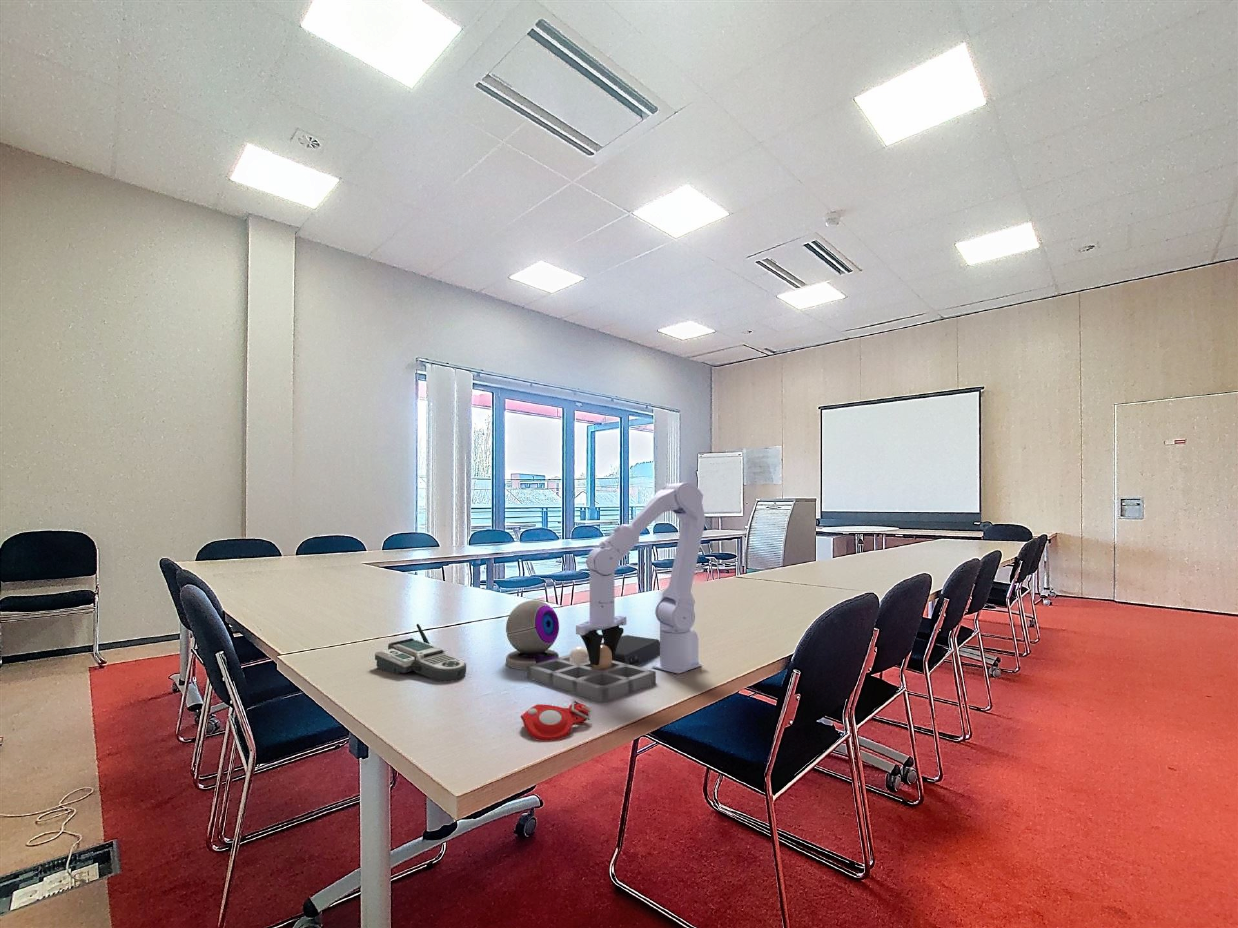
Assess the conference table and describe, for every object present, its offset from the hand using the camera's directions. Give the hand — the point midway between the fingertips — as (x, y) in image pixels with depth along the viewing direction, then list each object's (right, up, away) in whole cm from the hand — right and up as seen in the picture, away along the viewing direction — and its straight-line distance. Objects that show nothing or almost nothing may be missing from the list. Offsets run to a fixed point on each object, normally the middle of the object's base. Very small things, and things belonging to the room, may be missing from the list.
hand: (602, 661), depth 131 cm
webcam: (-18, -4, +12) cm, 22 cm away
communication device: (-42, -4, +4) cm, 42 cm away
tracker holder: (-7, -2, -30) cm, 31 cm away
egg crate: (-3, -3, -3) cm, 5 cm away
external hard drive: (+6, -5, +16) cm, 17 cm away
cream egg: (-6, -4, +5) cm, 8 cm away
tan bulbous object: (0, -2, 0) cm, 2 cm away
